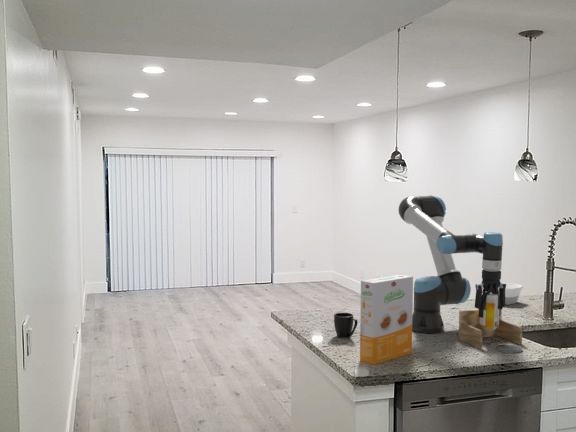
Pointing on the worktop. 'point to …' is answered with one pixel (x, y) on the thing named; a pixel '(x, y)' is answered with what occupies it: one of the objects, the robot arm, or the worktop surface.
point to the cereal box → (386, 318)
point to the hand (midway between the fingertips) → (489, 324)
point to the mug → (344, 324)
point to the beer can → (491, 312)
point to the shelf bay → (474, 332)
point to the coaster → (508, 348)
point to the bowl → (512, 293)
